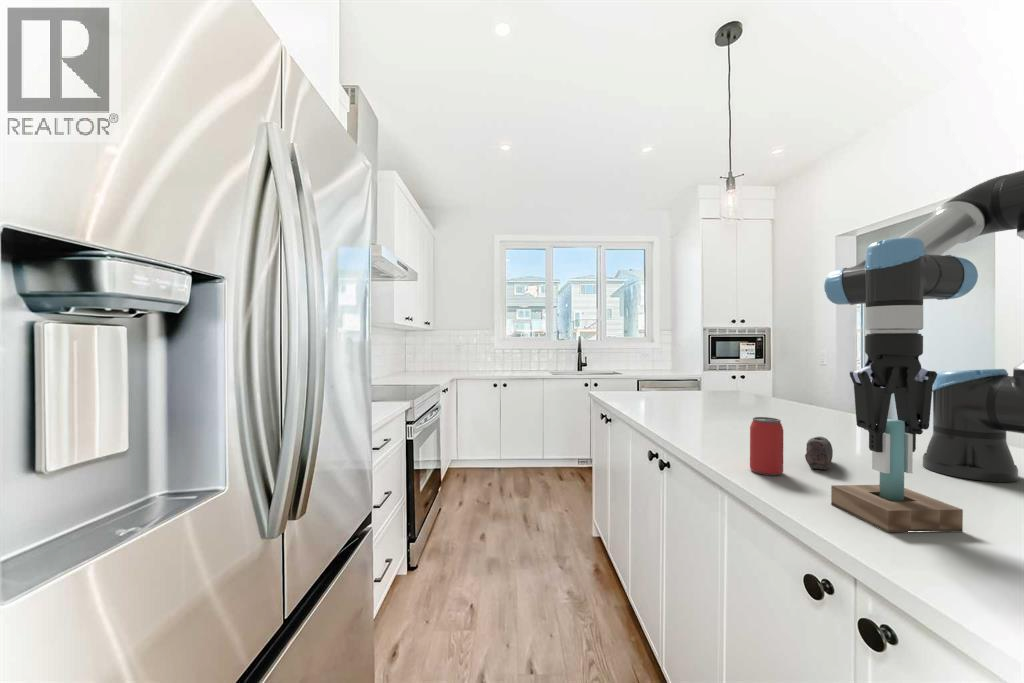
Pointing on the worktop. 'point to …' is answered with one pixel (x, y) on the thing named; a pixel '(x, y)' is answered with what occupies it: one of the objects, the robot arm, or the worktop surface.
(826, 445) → the perforated stone tool
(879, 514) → the board
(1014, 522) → the worktop surface
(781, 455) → the beer can
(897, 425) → the pin
